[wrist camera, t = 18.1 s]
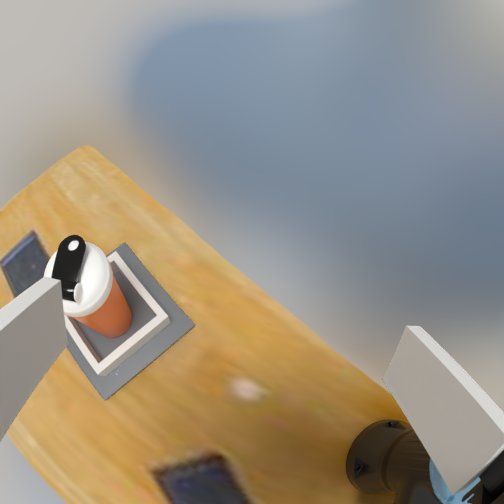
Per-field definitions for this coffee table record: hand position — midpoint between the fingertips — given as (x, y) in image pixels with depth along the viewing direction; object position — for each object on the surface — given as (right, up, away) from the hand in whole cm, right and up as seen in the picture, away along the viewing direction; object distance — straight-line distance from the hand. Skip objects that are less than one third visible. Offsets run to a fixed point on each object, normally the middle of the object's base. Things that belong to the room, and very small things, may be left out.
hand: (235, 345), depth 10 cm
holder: (-23, -8, +35) cm, 42 cm away
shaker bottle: (-22, -8, +34) cm, 41 cm away
